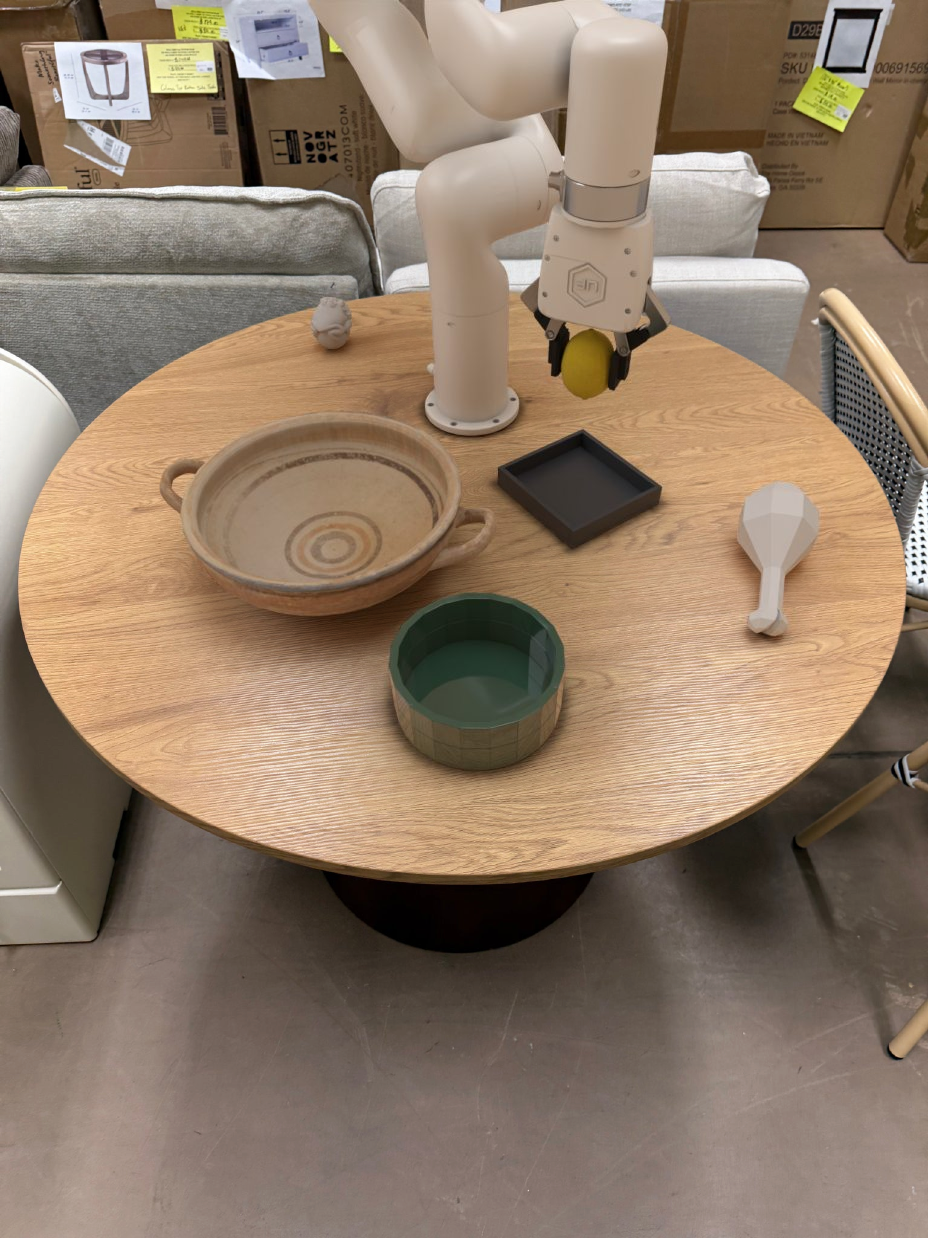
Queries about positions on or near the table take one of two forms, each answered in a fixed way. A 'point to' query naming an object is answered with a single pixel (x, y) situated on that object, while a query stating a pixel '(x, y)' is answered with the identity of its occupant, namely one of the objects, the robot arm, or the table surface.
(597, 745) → the table surface
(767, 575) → the chicken leg
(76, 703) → the table surface
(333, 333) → the frog figurine
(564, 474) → the tray
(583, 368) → the lemon
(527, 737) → the pot
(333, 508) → the ceramic bowl
